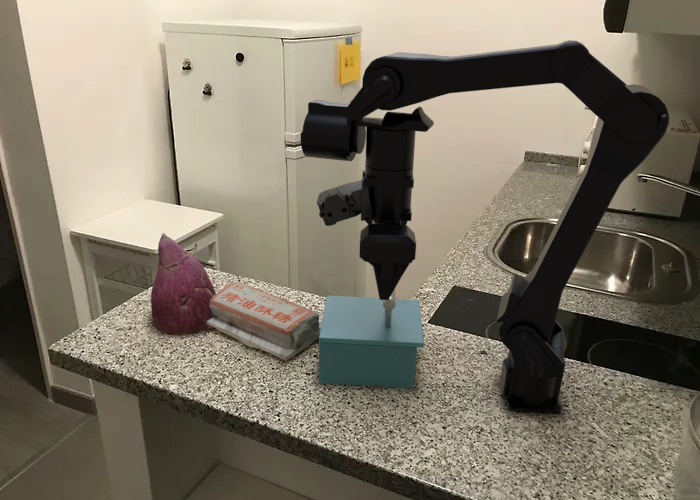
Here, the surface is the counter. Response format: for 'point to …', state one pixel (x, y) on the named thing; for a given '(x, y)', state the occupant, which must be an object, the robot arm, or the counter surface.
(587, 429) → the counter surface
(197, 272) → the vegetable
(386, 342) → the freezer lid
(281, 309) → the packaged product
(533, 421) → the counter surface
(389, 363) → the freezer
